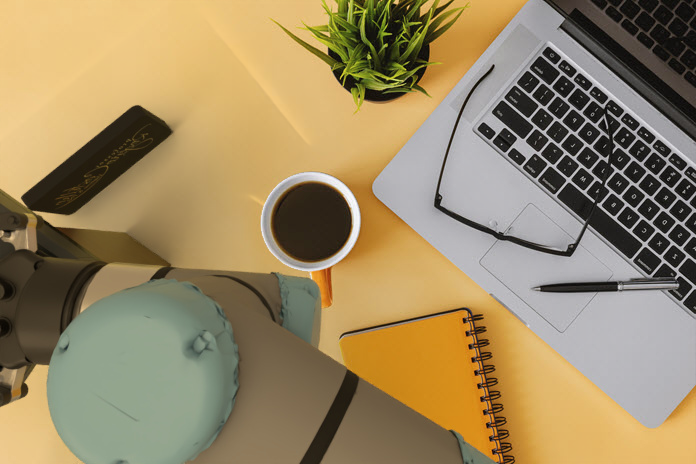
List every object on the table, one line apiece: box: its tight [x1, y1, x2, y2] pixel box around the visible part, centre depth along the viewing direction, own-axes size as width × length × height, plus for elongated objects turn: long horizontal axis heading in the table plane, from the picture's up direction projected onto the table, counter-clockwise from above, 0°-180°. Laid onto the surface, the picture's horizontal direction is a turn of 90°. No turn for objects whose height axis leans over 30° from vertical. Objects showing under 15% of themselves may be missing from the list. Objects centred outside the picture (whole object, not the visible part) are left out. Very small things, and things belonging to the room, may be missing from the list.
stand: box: [54, 226, 172, 267], centre depth 62 cm, size 9×9×26 cm
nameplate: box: [20, 104, 173, 216], centre depth 71 cm, size 21×2×10 cm, turn 129°
